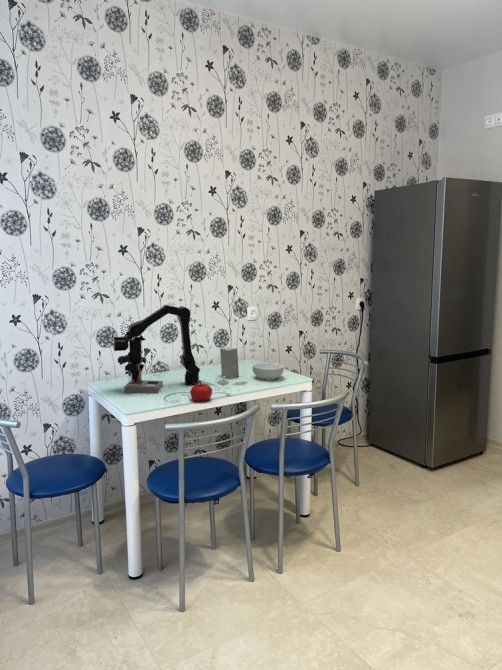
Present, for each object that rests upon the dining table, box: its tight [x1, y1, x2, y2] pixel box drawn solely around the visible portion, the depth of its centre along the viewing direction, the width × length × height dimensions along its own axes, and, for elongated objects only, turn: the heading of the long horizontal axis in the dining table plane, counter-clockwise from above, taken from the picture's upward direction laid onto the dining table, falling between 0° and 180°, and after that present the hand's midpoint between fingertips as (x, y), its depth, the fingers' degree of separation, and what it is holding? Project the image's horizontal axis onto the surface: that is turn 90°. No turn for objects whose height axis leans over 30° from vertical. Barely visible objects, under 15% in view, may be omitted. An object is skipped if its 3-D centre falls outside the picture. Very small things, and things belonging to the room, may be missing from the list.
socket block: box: [123, 379, 164, 394], centre depth 247 cm, size 16×12×3 cm
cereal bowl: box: [252, 361, 285, 380], centre depth 271 cm, size 17×17×7 cm
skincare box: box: [219, 346, 240, 379], centre depth 273 cm, size 8×7×16 cm
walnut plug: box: [130, 370, 142, 384], centre depth 248 cm, size 4×4×9 cm
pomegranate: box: [189, 379, 213, 402], centre depth 231 cm, size 10×10×9 cm
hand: (136, 380), depth 248 cm, fingers closed on walnut plug, 4 cm apart
